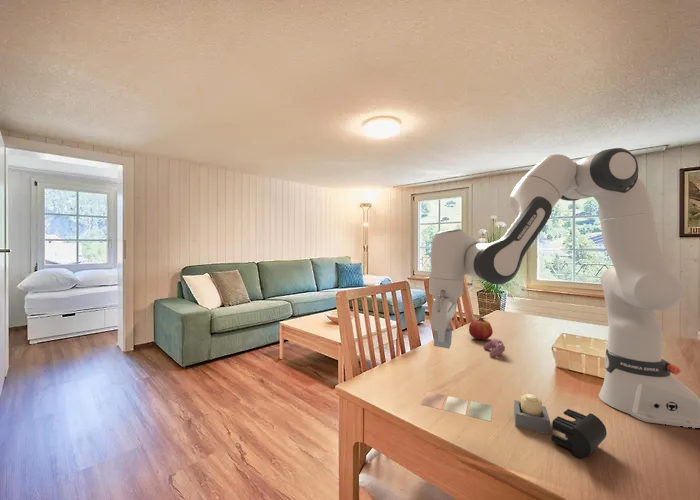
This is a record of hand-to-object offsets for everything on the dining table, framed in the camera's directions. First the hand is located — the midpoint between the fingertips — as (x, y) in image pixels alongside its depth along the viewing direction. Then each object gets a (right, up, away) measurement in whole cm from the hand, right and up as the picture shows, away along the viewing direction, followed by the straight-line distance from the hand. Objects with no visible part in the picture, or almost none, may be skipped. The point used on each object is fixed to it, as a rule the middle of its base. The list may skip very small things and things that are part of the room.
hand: (443, 338), depth 84 cm
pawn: (0, -2, 0) cm, 2 cm away
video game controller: (+33, -18, +40) cm, 55 cm away
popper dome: (+19, -16, -9) cm, 27 cm away
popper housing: (+19, -19, -8) cm, 28 cm away
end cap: (+25, -20, -17) cm, 36 cm away
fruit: (+35, -17, +58) cm, 70 cm away
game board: (+3, -19, -1) cm, 19 cm away
